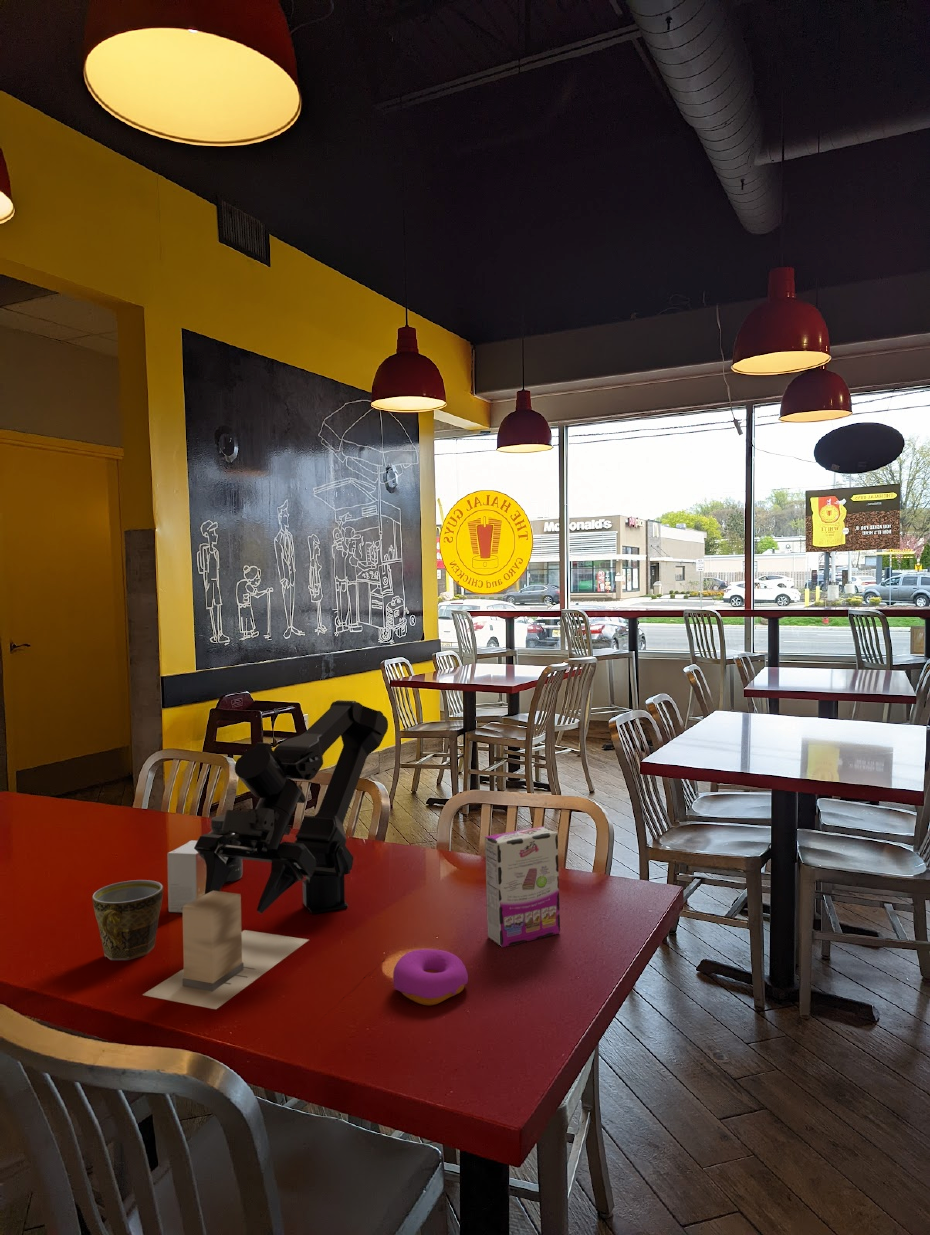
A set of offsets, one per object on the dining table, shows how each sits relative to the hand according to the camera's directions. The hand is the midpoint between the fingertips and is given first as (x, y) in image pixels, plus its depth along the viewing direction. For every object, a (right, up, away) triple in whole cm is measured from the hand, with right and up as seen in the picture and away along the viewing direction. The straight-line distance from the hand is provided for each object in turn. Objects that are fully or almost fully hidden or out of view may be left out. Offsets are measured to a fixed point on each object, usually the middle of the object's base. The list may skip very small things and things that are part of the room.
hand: (232, 908), depth 119 cm
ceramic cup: (-17, -9, +4) cm, 20 cm away
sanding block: (-1, -8, -4) cm, 9 cm away
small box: (-14, -9, +26) cm, 31 cm away
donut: (+29, -9, -7) cm, 31 cm away
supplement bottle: (-13, -9, +40) cm, 43 cm away
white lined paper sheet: (0, -9, 0) cm, 9 cm away
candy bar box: (+43, -9, +11) cm, 45 cm away
